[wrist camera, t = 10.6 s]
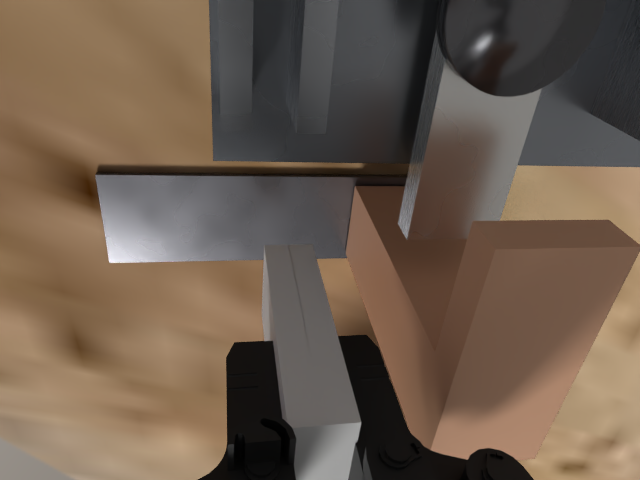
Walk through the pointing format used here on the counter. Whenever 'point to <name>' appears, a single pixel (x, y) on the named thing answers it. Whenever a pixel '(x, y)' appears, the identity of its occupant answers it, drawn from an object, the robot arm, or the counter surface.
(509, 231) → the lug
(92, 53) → the counter surface
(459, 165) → the lever with knob
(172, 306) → the counter surface
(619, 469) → the counter surface
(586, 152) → the grey latch fixture
